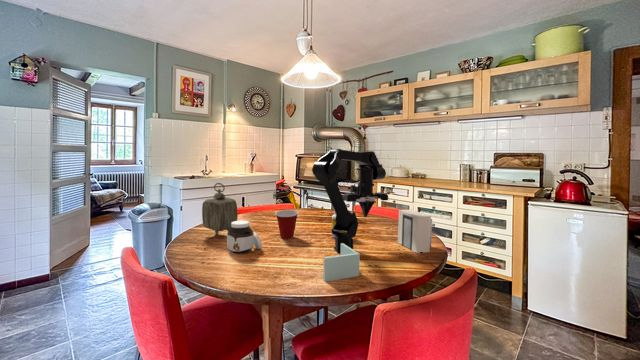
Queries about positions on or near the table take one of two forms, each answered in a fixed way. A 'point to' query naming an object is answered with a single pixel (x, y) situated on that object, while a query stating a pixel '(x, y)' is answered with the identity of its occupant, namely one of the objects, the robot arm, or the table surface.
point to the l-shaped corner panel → (342, 264)
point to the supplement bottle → (334, 222)
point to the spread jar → (242, 238)
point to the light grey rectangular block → (408, 232)
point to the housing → (415, 230)
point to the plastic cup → (286, 223)
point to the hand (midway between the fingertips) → (365, 216)
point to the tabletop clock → (219, 212)
